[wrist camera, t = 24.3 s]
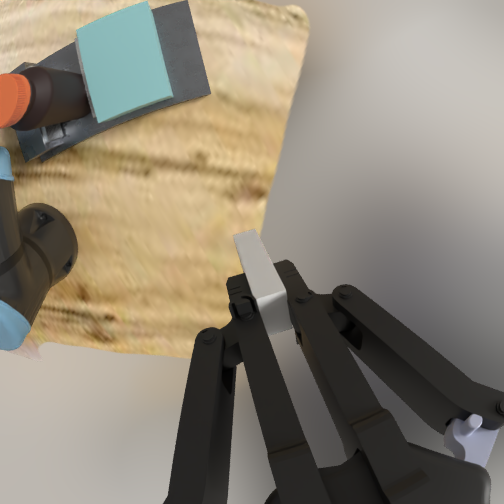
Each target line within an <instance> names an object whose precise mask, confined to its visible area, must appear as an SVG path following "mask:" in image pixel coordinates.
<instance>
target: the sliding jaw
mask: <svg viewBox="0 0 504 504" xmlns="http://www.w3.org/2000/svg"><path fill="white" fill-rule="evenodd" d="M76 32H77V38H75V44H76V49H77V54H78V59H79V64H80V68H81V73H82V77H83V81H84V84H85V89H86V93H87V97H88V101H89V105H90V108H91V112H92V115H93V118H94V117H97V121H98V123H101V122H105V121H110V120H113V119H115V118H118V117H120V116H123V115H125V114H128V113H130V112H133V111H135V110H138V109H141V108H143V107H146V106H149V105H152V104H155V103H157V102H160V101H163V100H166V99H170V98H173V93H172V89H171V86H170V82H169V78H168V74H167V70H166V66H165V62H164V58H163V54H162V50H161V46H160V42H159V38H158V34H157V30H156V26H155V21H154V17H153V13H152V11H151V9H150V6H149V4H148V1H145V2H141V3H139V4H136V5H133V6H130V7H127V8H125V9H122V10H119V11H117V12H114V13H112V14H110V15H107V16H105V17H103V18H100V19H98V20H96V21H94V22H92V23H89V24H87V25H85V26H83V27H81V28H79V29H77V30H76Z"/></svg>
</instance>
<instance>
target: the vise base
mask: <svg viewBox="0 0 504 504" xmlns="http://www.w3.org/2000/svg"><path fill="white" fill-rule="evenodd" d="M151 11H152V13H153V17H154V21H155V26H156V30H157V34H158V38H159V42H160V46H161V50H162V54H163V58H164V62H165V66H166V70H167V74H168V78H169V82H170V86H171V89H172V93H173V98H170V99H166V100H163V101H160V102H157V103H155V104H152V105H149V106H146V107H143V108H141V109H138V110H135V111H133V112H130V113H128V114H125V115H123V116H120V117H118V118H115V119H113V120H110V121H105V122H101V123H98V121H97V117H94V118H93V115H92V112H90V113H89V114H87V115H86V116H84V117H83V118H80V119H76V120H71V121H66V122H62V123H57V124H53V125H49V126H44V127H40V128H37V129H33V130H29V131H18V130H16V133H17V137H18V140H19V144H20V147H21V150H22V153H23V156H24V159H25V162H28V161H30V160H33V159H35V158H37V157H39V156H40V158H41V161H42V162H43V161H45V160H47V159H49V158H51V157H53V156H54V155H56V154H58V153H60V152H62V151H64V150H65V149H67V148H69V147H71V146H73V145H75V144H77V143H79V142H81V141H83V140H85V139H87V138H89V137H92V136H94V135H96V134H98V133H100V132H103V131H105V130H107V129H109V128H112V127H114V126H116V125H119V124H121V123H124V122H126V121H129V120H131V119H134V118H137V117H139V116H142V115H145V114H147V113H150V112H153V111H156V110H159V109H162V108H165V107H168V106H171V105H174V104H177V103H181V102H184V101H187V100H191V99H195V98H198V97H202V96H206V95H210V94H211V91H210V87H209V83H208V79H207V75H206V71H205V67H204V63H203V59H202V56H201V52H200V48H199V44H198V40H197V36H196V32H195V28H194V24H193V20H192V16H191V12H190V8H189V4H188V0H185V1H181V2H177V3H173V4H169V5H166V6H162V7H159V8H155V9H152V10H151ZM35 66H40V67H46V68H52V69H58V70H63V71H68V72H73V73H78V74H82V73H81V68H80V64H79V59H78V54H77V49H76V44H75V42H73V43H71V44H69V45H67V46H66V47H64V48H62V49H60V50H59V51H57V52H55V53H53V54H52V55H50V56H48V57H47V58H45V59H44V60H42V61H41V62H39V63H37V64H34V63H27V62H24V63H23V64H21V65H20V66H18V67H17V68H16V69H14V70H13V71H12V72H11V73H9V74H19V73H20V72H21V71H23V70H25V69H27V68H29V67H35Z"/></svg>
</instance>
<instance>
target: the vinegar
mask: <svg viewBox="0 0 504 504" xmlns="http://www.w3.org/2000/svg"><path fill="white" fill-rule="evenodd" d="M90 112H91V108H90V105H89V101H88V97H87V93H86V89H85V84H84V81H83V77H82V74H78V73H73V72H68V71H63V70H58V69H52V68H46V67H40V66H35V67H29V68H27V69H25V70H23V71H21V72H20V73H19V74H1V75H0V129H1V128H4V127H9V126H11V127H12V128H13V129H15V130H18V131H29V130H33V129H37V128H40V127H44V126H49V125H53V124H57V123H62V122H66V121H71V120H76V119H80V118H83V117H84V116H86V115H87V114H89V113H90Z"/></svg>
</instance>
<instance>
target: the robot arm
mask: <svg viewBox="0 0 504 504" xmlns="http://www.w3.org/2000/svg"><path fill="white" fill-rule="evenodd" d="M13 181H14V177H13V176H12V169H11V161H10V154H9V152H8V150H7V149H6V148H5V147H2V146H0V349H1V350H7V351H10V350H15V349H17V348H18V347H20V346H21V344H22V343H23V341H24V339H25V337H26V335H27V334H28V333H29V332H30V330H31V326H32V324H33V322H34V320H35V317H36V315H37V313H38V311H39V309H40V307H41V305H42V303H43V301H44V299H45V297H46V295H47V293H48V291H49V289H50V288H51V287H52V286H54V285H55V284H57V283H58V282H59V281H61V280H62V279H64V278H65V277H66V276H67V275H68V274H69V273H70V271H71V269H72V267H73V266H74V264H75V262H76V259H77V254H78V244H77V239H76V235H75V233H74V230H73V228H72V226H71V224H70V223H69V221H68V220H67V219H66V218H65V216H64V215H63V214H62V213H61V212H59V211H58V210H57V209H55V208H54V207H52V206H49V205H47V204H43V203H34V204H30V205H28V206H26V207H24V208H23V209H22V210H21V211H20V212H17V205H16V199H15V191H14V183H13ZM233 237H234V241H235V244H236V248H237V251H238V255H239V258H240V262H241V265H242V269H243V272H244V273H243V274H239V275H236V276H232V277H229V278H228V280H227V283H226V286H227V290H228V295H229V299H230V303H229V310H230V313H231V315H232V319H231V321H230V322H229V323H228V324H227V325H226V326H225V327H223V328H221V329H220V330H219V329H217V328H214V327H210V328H206V329H204V330H202V331H200V332H199V333H198V335H197V337H196V339H195V344H194V349H193V353H192V358H191V363H190V368H189V374H188V378H187V384H186V389H185V394H184V399H183V405H182V411H181V416H180V422H179V428H178V433H177V440H176V445H175V451H174V458H173V464H172V471H171V478H170V484H169V491H168V496H167V498H166V500H165V501H164V503H163V504H227V498H228V485H229V469H230V454H231V439H232V425H233V409H234V396H235V381H236V368H237V367H236V365H238V364H240V363H241V362H244V366H245V370H246V374H247V378H248V382H249V386H250V389H251V393H252V397H253V401H254V404H255V408H256V412H257V416H258V419H259V422H260V426H261V430H262V434H263V437H264V440H265V444H266V448H267V452H268V460H269V463H270V467H271V470H272V474H273V477H274V481H275V484H276V487H277V488H276V489H275V490H274V491H273V492H272V493H271V494H270V496H269V497H268V498H267V500H266V502H265V504H490V491H491V479H490V476H489V474H488V472H487V470H486V469H484V468H485V465H486V463H487V461H488V458H489V456H490V453H491V450H492V448H493V445H494V442H495V440H496V437H497V434H498V431H499V429H500V428H501V427H502V426H503V425H504V392H501V391H498V390H495V389H493V388H490V387H487V386H484V385H481V384H479V383H476V382H474V381H472V380H471V379H470V378H468V377H467V376H466V375H465V374H464V373H463V372H461V371H460V370H459V369H458V368H457V367H455V366H454V365H453V364H452V363H450V362H449V361H448V360H447V359H446V358H444V357H443V356H442V355H441V354H440V353H438V352H437V351H436V350H435V349H434V348H432V347H431V346H430V345H428V344H427V343H426V342H425V341H424V340H422V339H421V338H420V337H419V336H417V335H416V334H415V333H413V332H412V331H411V330H410V329H409V328H407V327H406V326H404V324H402V323H401V322H400V321H399V320H397V319H396V318H395V317H393V316H392V315H391V314H389V313H388V312H387V311H386V310H384V309H383V308H382V307H381V306H379V305H378V304H377V303H375V302H374V301H373V300H371V299H370V298H369V297H367V296H366V295H365V294H364V293H362V292H361V291H360V290H358V289H357V288H356V287H354V286H352V285H347V284H345V285H340V286H337V287H336V288H335V289H334V290H333V292H332V294H321V295H320V294H316V293H314V292H313V291H312V290H310V289H308V287H307V285H306V284H305V282H304V280H303V279H302V277H301V276H300V274H299V272H298V271H297V270H296V267H295V266H294V264H293V263H292V262H290V261H288V260H284V261H280V262H277V263H274V264H273V263H272V261H271V259H270V257H269V255H268V253H267V251H266V250H265V247H264V245H263V243H262V241H261V240H260V238H259V236H258V234H257V232H256V230H255V229H253V230H249V231H246V232H242V233H239V234H236V235H233ZM292 325H293V327H294V329H295V335H296V342H297V344H299V345H300V347H301V349H302V351H303V354H304V356H305V358H306V360H307V363H308V365H309V367H310V369H311V372H312V374H313V376H314V379H315V381H316V383H317V385H318V388H319V390H320V392H321V395H322V397H323V399H324V401H325V404H326V406H327V408H328V410H329V413H330V415H331V417H332V419H333V422H334V424H335V426H336V429H337V431H338V433H339V436H340V438H341V440H342V443H343V446H344V451H345V454H346V457H347V459H348V460H347V461H346V462H344V463H343V464H341V465H339V466H334V467H326V468H317V465H316V463H315V460H314V458H313V455H312V452H311V450H310V447H309V445H308V443H307V441H306V438H305V436H304V433H303V431H302V428H301V425H300V422H299V420H298V417H297V414H296V412H295V409H294V406H293V403H292V401H291V398H290V395H289V393H288V390H287V387H286V384H285V381H284V379H283V376H282V373H281V370H280V368H279V365H278V362H277V359H276V356H275V354H274V351H273V349H272V345H271V342H270V340H269V337H268V336H270V335H273V334H276V333H279V332H283V331H286V330H289V329H292ZM348 348H350V349H351V350H352V351H353V352H354V353H355V354H356V355H357V356H358V357H359V358H360V359H361V360H362V361H363V362H364V363H365V364H366V365H367V366H368V367H369V368H370V369H371V370H372V371H373V372H374V373H375V374H376V375H377V376H378V377H379V378H380V379H381V380H382V381H383V382H384V383H386V385H387V386H388V387H389V388H390V389H392V390H393V391H394V392H395V393H396V394H397V395H398V396H399V397H400V398H401V399H402V400H403V401H404V402H405V403H406V404H407V405H408V406H409V407H410V408H411V409H412V410H413V411H414V412H415V413H416V414H417V415H418V416H419V417H420V418H421V419H422V420H423V421H424V422H426V423H427V424H428V425H429V426H430V427H431V428H433V429H434V430H436V431H437V432H439V433H441V434H443V435H444V446H445V447H446V448H447V449H449V450H450V451H452V452H453V454H454V455H455V458H453V457H450V456H447V455H444V454H441V453H438V452H435V451H432V450H429V449H426V448H423V447H421V446H418V445H415V444H413V443H409V442H407V441H406V439H405V438H404V436H403V434H402V432H401V430H400V428H399V426H398V425H397V423H396V421H395V419H394V417H393V416H392V414H391V413H390V412H389V411H388V410H387V409H383V408H382V407H381V405H380V403H379V402H378V400H377V398H376V396H375V395H374V393H373V391H372V389H371V387H370V386H369V384H368V382H367V380H366V378H365V377H364V375H363V373H362V372H361V370H360V368H359V366H358V365H357V363H356V361H355V360H354V358H353V356H352V354H351V352H350V351H349V349H348Z"/></svg>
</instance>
